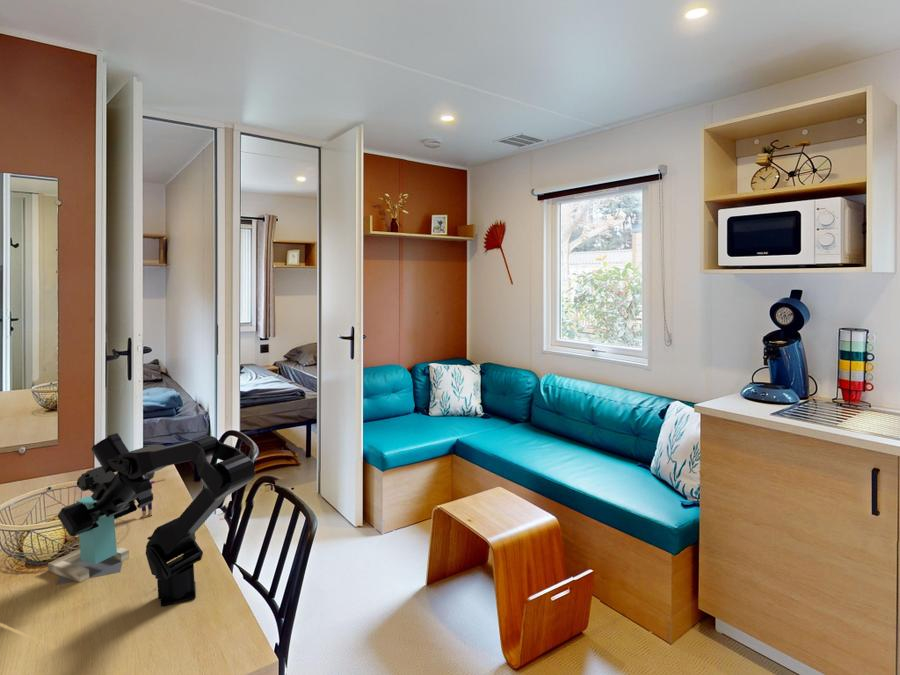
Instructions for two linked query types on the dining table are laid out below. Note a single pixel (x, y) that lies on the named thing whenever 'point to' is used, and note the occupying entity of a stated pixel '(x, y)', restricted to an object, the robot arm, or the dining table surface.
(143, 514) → the toy
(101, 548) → the teal post
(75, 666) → the dining table surface
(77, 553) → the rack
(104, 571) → the mat
